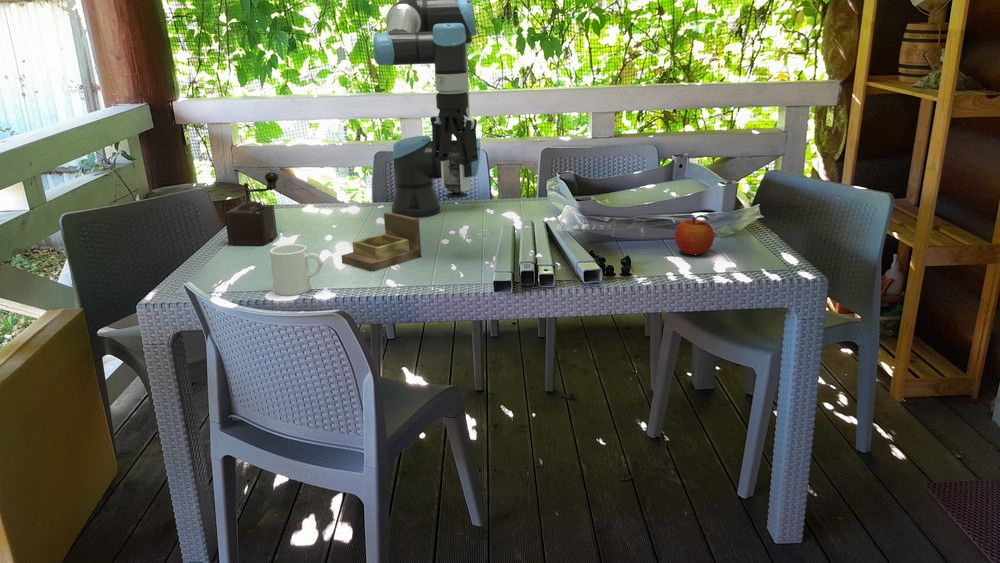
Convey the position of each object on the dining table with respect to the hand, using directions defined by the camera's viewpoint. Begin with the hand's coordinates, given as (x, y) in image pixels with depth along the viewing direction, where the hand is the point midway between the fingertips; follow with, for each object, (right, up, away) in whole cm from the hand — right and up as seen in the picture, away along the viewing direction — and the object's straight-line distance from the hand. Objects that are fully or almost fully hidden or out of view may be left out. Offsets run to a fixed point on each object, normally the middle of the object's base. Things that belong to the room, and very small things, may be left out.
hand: (456, 188), depth 198 cm
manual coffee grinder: (-58, -11, +32) cm, 67 cm away
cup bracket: (-19, -17, +8) cm, 27 cm away
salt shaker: (0, -2, +1) cm, 2 cm away
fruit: (+59, -16, +5) cm, 62 cm away
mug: (-35, -25, -13) cm, 45 cm away
